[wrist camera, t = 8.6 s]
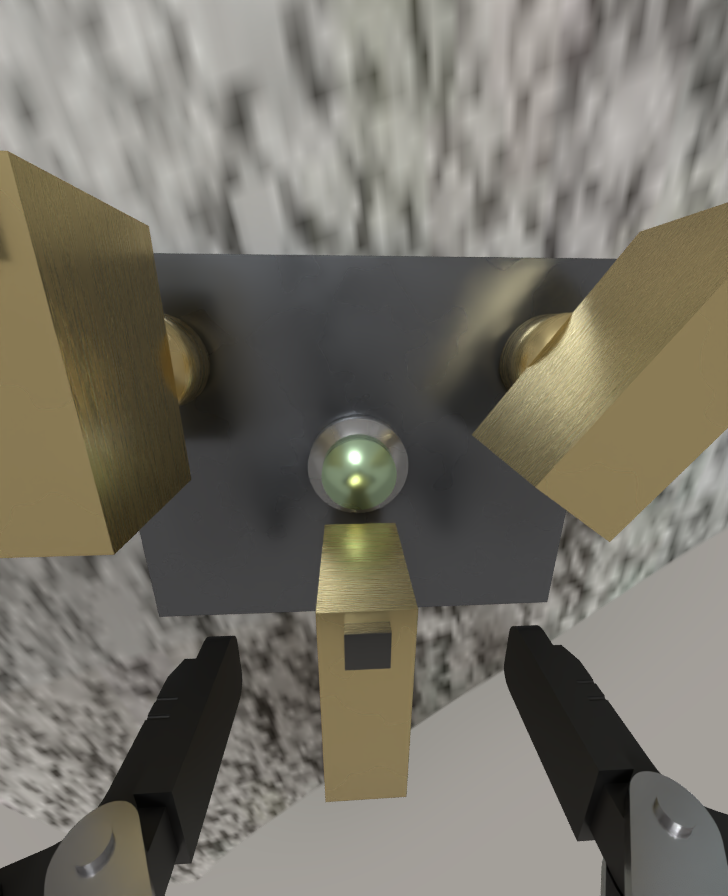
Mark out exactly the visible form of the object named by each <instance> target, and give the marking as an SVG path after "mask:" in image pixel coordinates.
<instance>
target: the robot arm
mask: <svg viewBox="0 0 728 896" xmlns="http://www.w3.org/2000/svg"><path fill="white" fill-rule="evenodd" d="M504 673H505V678H506V683H507V686H508V688H509V691H510V693H511V696H512V698H513V700H514V702H515V704H516V706H517V709H518V711H519V713H520V715H521V718H522V720H523V722H524V724H525V727H526V729H527V731H528V733H529V735H530V738H531V740H532V742H533V744H534V747H535V749H536V751H537V753H538V755H539V757H540V760H541V762H542V764H543V766H544V769H545V771H546V773H547V775H548V777H549V779H550V782H551V784H552V786H553V788H554V791H555V793H556V795H557V797H558V800H559V802H560V804H561V806H562V809H563V811H564V813H565V815H566V817H567V819H568V822H569V824H570V826H571V828H572V831H573V833H574V835H575V837H576V839H577V841H589V840H595V841H596V843H597V845H598V847H599V849H600V851H601V853H602V856H603V861H602V871H601V896H728V815H727V814H724V813H721V812H718V811H715V810H712V809H709V808H707V807H705V806H703V805H702V804H701V803H700V801H699V800H698V799H696V797H695V796H693V795H692V794H691V793H690V792H689V791H688V790H687V789H685V788H684V787H683V786H681V785H680V784H679V783H677V782H675V781H674V780H672V779H670V778H668V777H666V776H664V775H662V774H660V773H659V771H658V770H657V769H656V768H655V766H654V765H653V764H652V762H651V761H650V759H649V758H648V757H647V755H646V754H645V752H644V751H643V749H642V748H641V747H640V745H639V744H638V742H637V741H636V740H635V738H634V737H633V735H632V734H631V732H630V731H629V730H628V728H627V727H626V726H625V724H624V723H623V721H622V720H621V718H620V717H619V716H618V714H617V713H616V711H615V710H614V708H613V707H612V706H611V704H610V703H609V702H608V700H606V699H605V697H604V694H603V693H602V692H601V690H600V689H599V687H598V686H597V684H594V682H593V679H592V678H591V676H590V675H589V673H588V672H587V670H586V669H585V668H584V666H583V665H582V663H581V662H580V661H579V660H578V659H577V658H576V657H575V656H574V655H572V654H571V653H570V652H569V651H568V650H567V649H565V648H564V647H563V646H562V645H553V644H552V643H551V641H550V640H549V638H548V637H547V635H546V634H545V632H544V631H543V629H542V628H541V627H540V626H538V625H533V626H512V627H511V628H510V631H509V637H508V643H507V649H506V656H505V662H504ZM241 689H242V670H241V664H240V657H239V650H238V644H237V639H236V637H235V636H217V637H207V638H206V640H205V641H204V643H203V645H202V647H201V649H200V652H199V654H198V656H197V658H196V659H184V660H183V662H182V663H181V664H180V665H179V666H178V667H177V668H176V669H175V670H174V671H173V672H172V673H171V674H170V675H169V676H168V678H167V680H166V682H165V684H164V685H163V687H162V689H161V691H160V693H159V695H158V697H157V701H156V702H155V703H154V705H153V706H152V708H151V710H150V712H149V714H148V718H147V720H145V722H144V724H143V726H142V727H141V729H140V731H139V733H138V735H137V737H136V739H135V741H134V743H133V745H132V747H131V748H130V750H129V752H128V754H127V756H126V758H125V760H124V762H123V764H122V766H121V768H120V769H119V771H118V773H117V775H116V777H115V779H114V781H113V783H112V785H111V787H110V789H109V790H108V792H107V794H106V796H105V797H104V799H103V801H102V802H101V803H100V805H99V806H98V808H96V809H95V810H93V811H91V812H90V813H89V814H87V815H86V816H85V817H84V818H82V819H81V820H80V821H79V822H78V823H77V824H76V825H75V826H74V827H73V828H72V829H71V830H70V831H69V833H68V834H67V835H66V836H65V838H64V839H63V840H62V841H60V842H58V843H57V844H55V845H53V846H51V847H49V848H47V849H45V850H43V851H40V852H38V853H35V854H33V855H31V856H28V857H26V858H24V859H21V860H19V861H17V862H15V863H12V864H10V865H8V866H5V867H3V868H1V869H0V896H165V892H166V889H167V886H168V883H169V880H170V877H171V874H172V871H173V868H174V865H175V864H188V863H191V862H192V859H193V856H194V852H195V849H196V846H197V842H198V839H199V835H200V832H201V829H202V825H203V822H204V818H205V815H206V812H207V808H208V805H209V802H210V798H211V795H212V791H213V788H214V785H215V781H216V778H217V774H218V771H219V768H220V764H221V761H222V758H223V754H224V751H225V747H226V744H227V741H228V737H229V734H230V731H231V727H232V724H233V720H234V717H235V714H236V710H237V707H238V703H239V700H240V695H241Z"/></svg>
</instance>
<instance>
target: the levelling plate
mask: <svg viewBox="0 0 728 896" xmlns="http://www.w3.org/2000/svg"><path fill="white" fill-rule="evenodd" d="M153 254H154V260H155V266H156V272H157V278H158V284H159V290H160V296H161V302H162V308H163V314H167V315H170V316H173V317H176V318H178V319H180V320H181V321H183V322H185V323H186V324H187V325H188V326H190V327H191V328H192V329H193V330H194V331H195V332H196V333H197V335H198V336H199V337H200V339H201V340H202V342H203V343H204V345H205V348H206V350H207V353H208V357H209V362H210V373H209V378H208V381H207V384H206V386H205V388H204V389H203V391H202V392H201V393H200V394H199V395H198V396H197V397H196V398H195V399H193V400H192V401H190V402H188V403H186V404H184V405H181V406H179V409H180V415H181V420H182V426H183V432H184V438H185V444H186V450H187V456H188V462H189V468H190V474H191V481H190V482H188V483H187V484H186V485H185V486H184V487H183V488H182V489H181V490H180V491H179V492H178V493H177V494H176V495H175V496H174V497H173V498H172V499H171V500H170V501H169V502H168V503H167V504H166V505H165V506H164V507H163V508H162V509H161V510H160V511H159V512H158V513H157V514H156V515H154V516H153V517H152V518H151V519H150V520H149V521H148V522H147V523H146V524H145V525H144V526H143V527H142V528H141V529H140V530H139V531H140V535H141V539H142V544H143V548H144V552H145V557H146V561H147V565H148V570H149V574H150V578H151V583H152V587H153V591H154V595H155V600H156V604H157V608H158V613H159V617H166V616H193V615H219V614H246V613H272V612H298V611H316V605H317V595H318V586H319V576H320V566H321V557H322V547H323V537H324V528H325V525H330V524H369V523H396V527H397V531H398V535H399V539H400V542H401V546H402V550H403V554H404V558H405V561H406V565H407V569H408V573H409V577H410V581H411V584H412V588H413V592H414V596H415V600H416V603H417V607H431V606H457V605H483V604H510V603H536V602H547V600H548V595H549V590H550V586H551V581H552V576H553V571H554V566H555V561H556V557H557V552H558V547H559V542H560V537H561V532H562V528H563V523H564V518H565V513H566V509H564V508H563V507H561V506H560V505H559V504H557V503H556V502H555V501H553V500H552V499H551V498H549V497H548V496H546V495H545V494H544V493H542V492H541V491H540V490H538V489H537V488H536V487H534V486H533V485H532V484H531V483H529V482H528V481H527V480H526V479H525V478H523V477H522V476H521V475H520V474H519V473H517V472H516V471H515V470H514V469H512V468H511V467H510V466H509V465H508V464H506V463H505V462H504V461H503V460H502V459H500V458H499V457H498V456H497V455H495V454H494V453H493V452H492V451H491V450H489V449H488V448H487V447H486V446H485V445H483V444H482V443H481V442H480V441H478V440H477V439H476V438H475V437H474V436H472V434H473V432H474V431H475V430H476V429H477V428H478V426H479V425H480V424H481V423H482V422H483V420H484V419H485V418H486V417H487V416H488V414H489V413H490V412H491V411H492V410H493V408H494V407H495V406H496V405H497V404H498V402H499V401H500V400H501V399H502V397H503V396H504V395H505V394H506V393H507V391H508V390H507V389H506V387H505V385H504V384H503V381H502V379H501V375H500V357H501V353H502V349H503V347H504V345H505V343H506V341H507V339H508V338H509V336H510V335H511V333H512V332H513V331H514V330H515V329H516V328H517V327H518V326H519V325H521V324H522V323H524V322H525V321H527V320H529V319H530V318H533V317H536V316H539V315H545V314H557V313H569V312H574V311H575V309H576V308H577V307H578V306H579V305H580V303H581V302H582V301H583V300H584V299H585V297H586V296H587V295H588V294H589V293H590V291H591V290H592V289H593V288H594V287H595V285H596V284H597V283H598V282H599V281H600V279H601V278H602V277H603V276H604V275H605V273H606V272H607V271H608V270H609V268H610V267H611V266H612V265H613V264H614V262H615V261H616V260H617V259H589V258H504V257H420V256H335V255H251V254H166V253H153Z"/></svg>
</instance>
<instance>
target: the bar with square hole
mask: <svg viewBox="0 0 728 896" xmlns="http://www.w3.org/2000/svg"><path fill="white" fill-rule="evenodd" d="M417 619H418V607H417V603H416V600H415V596H414V592H413V588H412V584H411V581H410V577H409V573H408V569H407V565H406V561H405V558H404V554H403V550H402V546H401V542H400V539H399V535H398V531H397V527H396V523H369V524H330V525H325V528H324V537H323V547H322V557H321V566H320V576H319V586H318V595H317V605H316V630H317V648H318V667H319V686H320V705H321V723H322V742H323V761H324V780H325V798H326V802H331V801H332V802H333V801H348V800H363V799H378V798H395V797H406V794H407V778H408V762H409V746H410V730H411V714H412V698H413V682H414V666H415V651H416V635H417Z"/></svg>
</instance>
